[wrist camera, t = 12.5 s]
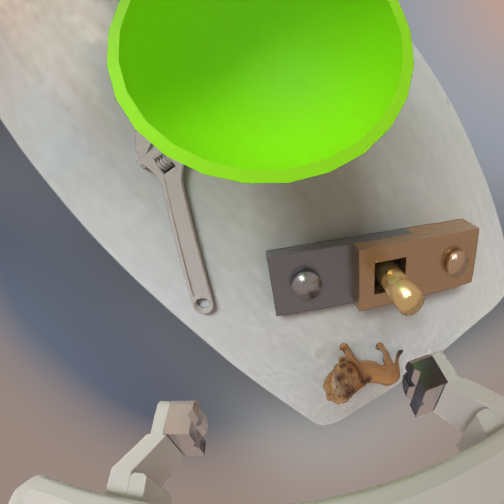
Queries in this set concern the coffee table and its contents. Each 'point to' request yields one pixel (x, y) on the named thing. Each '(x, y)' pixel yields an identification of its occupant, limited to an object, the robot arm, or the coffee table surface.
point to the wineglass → (261, 81)
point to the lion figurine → (359, 374)
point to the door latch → (371, 266)
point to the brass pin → (399, 287)
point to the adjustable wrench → (178, 219)
